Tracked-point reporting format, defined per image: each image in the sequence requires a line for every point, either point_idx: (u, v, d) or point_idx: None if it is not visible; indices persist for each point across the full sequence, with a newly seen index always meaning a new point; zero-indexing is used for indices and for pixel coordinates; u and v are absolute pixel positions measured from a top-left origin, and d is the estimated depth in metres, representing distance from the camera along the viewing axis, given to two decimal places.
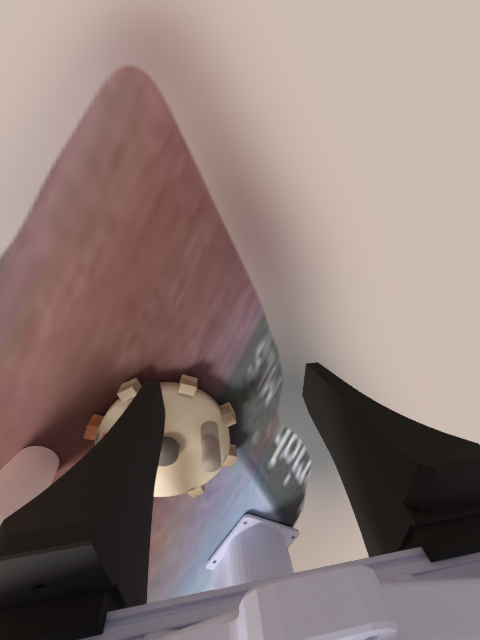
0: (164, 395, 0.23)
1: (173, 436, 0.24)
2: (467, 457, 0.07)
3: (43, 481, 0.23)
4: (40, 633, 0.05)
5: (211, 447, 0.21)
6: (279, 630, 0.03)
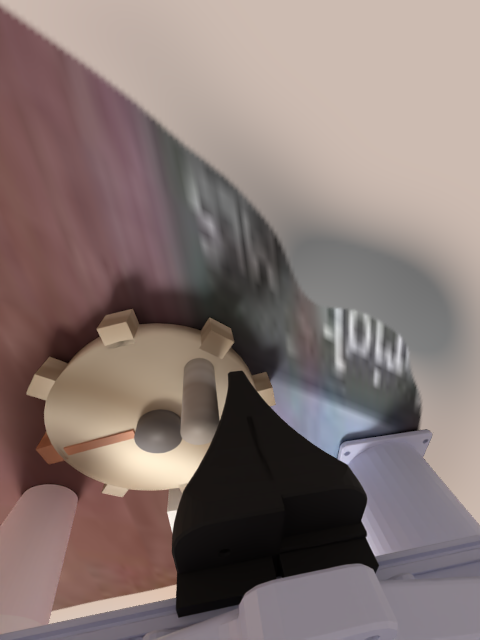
0: (90, 360, 0.13)
1: (157, 406, 0.15)
2: (322, 481, 0.06)
3: (44, 529, 0.17)
4: (229, 593, 0.06)
5: (190, 403, 0.11)
6: (279, 630, 0.03)
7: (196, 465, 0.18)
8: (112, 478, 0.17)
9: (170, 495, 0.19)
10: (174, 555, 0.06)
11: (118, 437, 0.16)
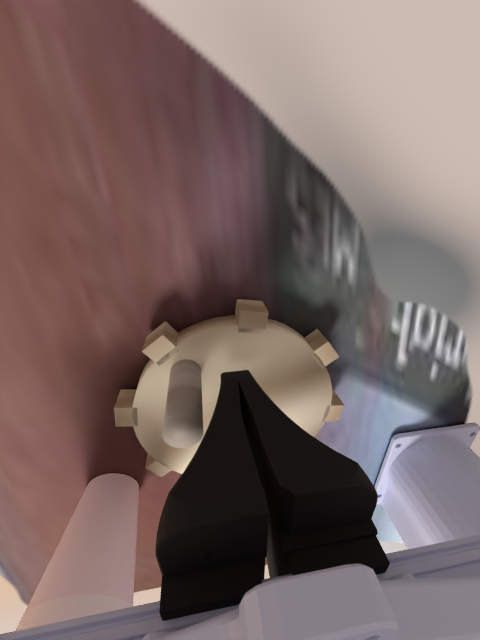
0: (144, 437, 0.16)
1: (213, 411, 0.16)
2: (333, 479, 0.06)
3: (119, 516, 0.17)
4: (214, 596, 0.06)
5: None
6: (279, 630, 0.03)
7: (306, 402, 0.17)
8: None
9: None
10: (158, 558, 0.06)
11: None
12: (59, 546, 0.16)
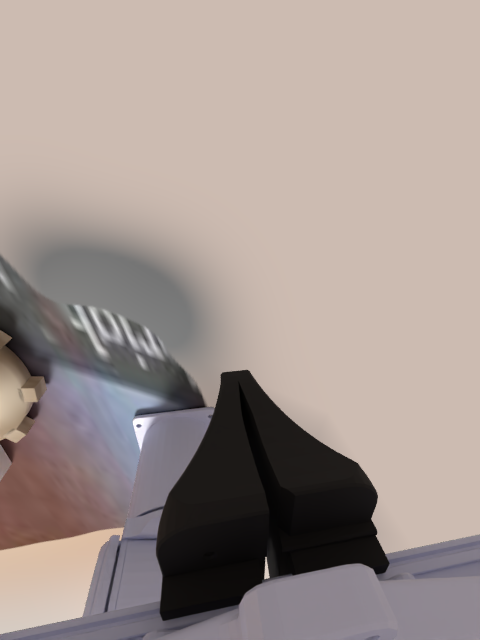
0: None
1: None
2: (333, 480, 0.06)
3: None
4: (214, 596, 0.06)
5: None
6: (279, 630, 0.03)
7: None
8: None
9: None
10: (158, 558, 0.06)
11: None
12: None
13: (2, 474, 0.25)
